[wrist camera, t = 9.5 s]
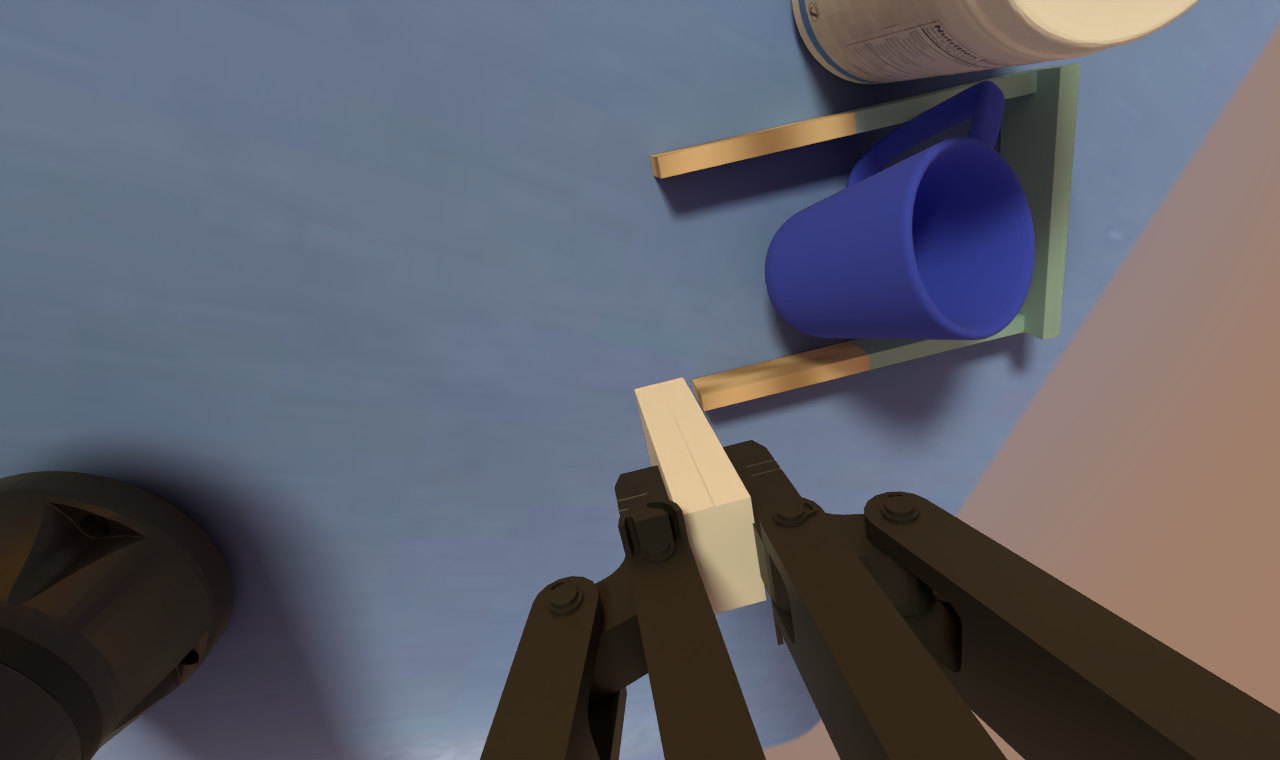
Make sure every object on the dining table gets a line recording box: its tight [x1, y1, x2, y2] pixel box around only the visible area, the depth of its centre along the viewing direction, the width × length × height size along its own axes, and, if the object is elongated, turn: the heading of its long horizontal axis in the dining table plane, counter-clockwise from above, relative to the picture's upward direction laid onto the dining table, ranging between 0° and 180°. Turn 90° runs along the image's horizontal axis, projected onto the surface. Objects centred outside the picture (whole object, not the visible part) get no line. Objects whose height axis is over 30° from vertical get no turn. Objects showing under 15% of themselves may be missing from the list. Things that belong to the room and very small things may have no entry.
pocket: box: [836, 63, 1080, 370], centre depth 33 cm, size 10×14×4 cm
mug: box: [765, 81, 1035, 340], centre depth 29 cm, size 8×12×10 cm
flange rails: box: [650, 112, 870, 411], centre depth 33 cm, size 10×14×2 cm
